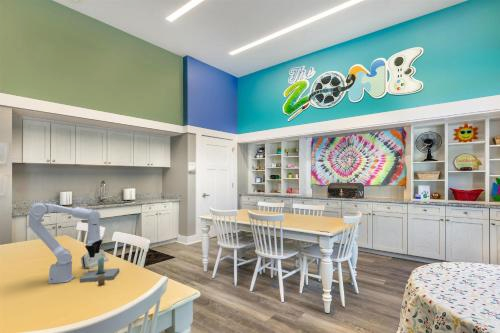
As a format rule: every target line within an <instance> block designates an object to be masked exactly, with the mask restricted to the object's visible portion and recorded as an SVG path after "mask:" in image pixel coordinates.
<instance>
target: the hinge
mask: <svg viewBox="0 0 500 333" xmlns="http://www.w3.org/2000/svg"><path fill="white" fill-rule="evenodd" d="M105 252H106V251H104V249H102V248H100V251H99V253H95V256H94V257H92V258H90V257H89V253H88V252H86V253H85V254H83V255H82V256H81V257H80V262H81V263H80V264H81V269H82V270H83V269H84V270H85V269H88V270H91V269H93V268H95V267H98V259H99V258H104V262H105V263H107V262H109V261H110V260H109V257H107V255H106V253H105ZM108 260H109V261H108ZM106 261H107V262H106Z"/></svg>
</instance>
